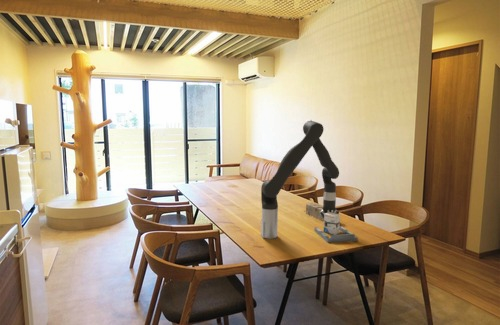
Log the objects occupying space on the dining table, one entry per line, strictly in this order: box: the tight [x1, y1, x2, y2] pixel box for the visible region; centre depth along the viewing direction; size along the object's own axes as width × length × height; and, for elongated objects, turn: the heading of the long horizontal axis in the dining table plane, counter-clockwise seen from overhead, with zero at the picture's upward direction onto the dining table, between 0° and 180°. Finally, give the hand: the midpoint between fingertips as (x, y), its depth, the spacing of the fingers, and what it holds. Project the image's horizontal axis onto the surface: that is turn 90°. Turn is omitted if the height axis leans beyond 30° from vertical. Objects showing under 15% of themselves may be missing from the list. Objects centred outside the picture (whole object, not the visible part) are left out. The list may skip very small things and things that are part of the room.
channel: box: [313, 225, 359, 243], centre depth 199 cm, size 18×21×4 cm
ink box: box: [323, 212, 341, 235], centre depth 204 cm, size 8×5×12 cm, turn 45°
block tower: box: [305, 202, 340, 223], centre depth 236 cm, size 8×8×29 cm
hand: (328, 225), depth 210 cm, fingers closed
